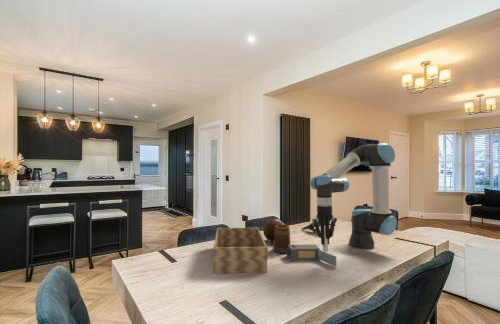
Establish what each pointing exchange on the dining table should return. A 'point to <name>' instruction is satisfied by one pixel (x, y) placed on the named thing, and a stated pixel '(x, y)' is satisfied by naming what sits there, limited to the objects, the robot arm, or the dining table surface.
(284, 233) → the mug
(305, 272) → the dining table surface
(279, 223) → the coconut
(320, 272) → the dining table surface
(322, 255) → the side door
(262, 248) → the box
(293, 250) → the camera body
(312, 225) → the bird figurine
